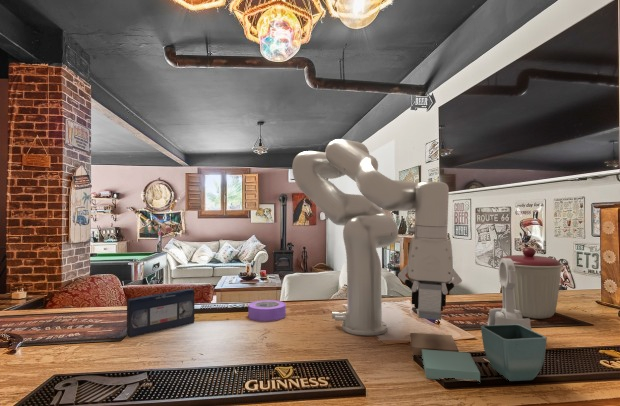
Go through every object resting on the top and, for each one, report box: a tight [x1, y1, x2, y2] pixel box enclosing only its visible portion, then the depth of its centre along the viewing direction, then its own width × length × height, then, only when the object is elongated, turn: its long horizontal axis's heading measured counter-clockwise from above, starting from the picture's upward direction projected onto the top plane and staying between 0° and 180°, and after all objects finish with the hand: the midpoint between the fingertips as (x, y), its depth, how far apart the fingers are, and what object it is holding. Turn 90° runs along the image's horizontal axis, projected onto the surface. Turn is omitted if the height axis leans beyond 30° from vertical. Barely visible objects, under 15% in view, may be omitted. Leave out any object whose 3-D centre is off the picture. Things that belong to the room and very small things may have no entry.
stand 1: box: [409, 332, 460, 357], centre depth 89 cm, size 10×10×2 cm
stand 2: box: [421, 349, 481, 383], centre depth 77 cm, size 10×10×2 cm
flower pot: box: [480, 324, 548, 382], centre depth 75 cm, size 9×9×9 cm
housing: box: [415, 281, 442, 321], centre depth 90 cm, size 8×5×8 cm, turn 168°
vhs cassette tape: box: [126, 288, 196, 338], centre depth 105 cm, size 18×3×10 cm, turn 131°
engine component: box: [487, 257, 533, 331], centre depth 96 cm, size 11×20×10 cm
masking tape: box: [247, 299, 287, 322], centre depth 117 cm, size 12×12×4 cm
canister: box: [496, 246, 565, 320], centre depth 117 cm, size 18×18×21 cm
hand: (428, 307), depth 90 cm, fingers closed on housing, 5 cm apart
